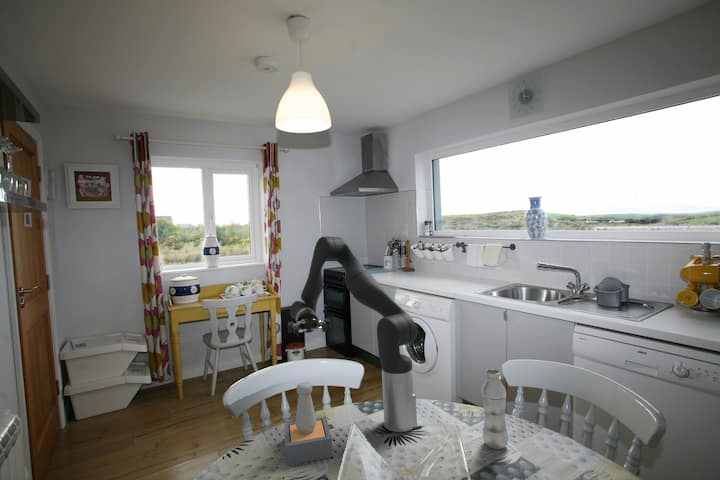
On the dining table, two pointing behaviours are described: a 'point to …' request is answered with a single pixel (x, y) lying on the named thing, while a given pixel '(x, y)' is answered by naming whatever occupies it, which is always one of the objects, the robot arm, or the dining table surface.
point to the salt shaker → (305, 409)
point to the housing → (308, 446)
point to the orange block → (297, 436)
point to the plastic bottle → (494, 411)
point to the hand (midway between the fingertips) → (311, 330)
